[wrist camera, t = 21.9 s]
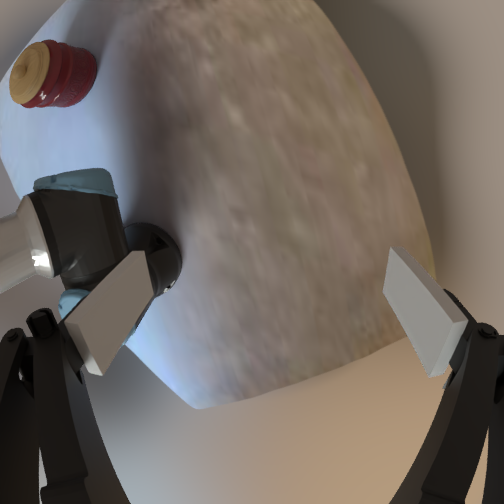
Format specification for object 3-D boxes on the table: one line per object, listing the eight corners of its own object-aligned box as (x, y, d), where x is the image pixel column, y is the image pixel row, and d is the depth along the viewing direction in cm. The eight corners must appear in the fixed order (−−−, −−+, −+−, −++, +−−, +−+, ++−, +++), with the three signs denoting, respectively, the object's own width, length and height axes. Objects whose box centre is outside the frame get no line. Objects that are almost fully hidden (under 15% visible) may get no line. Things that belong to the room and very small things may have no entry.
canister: (97, 39, 36) (40, 20, 20) (100, 94, 41) (38, 88, 25) (52, 65, 37) (-5, 59, 21) (55, 116, 42) (-6, 121, 26)
